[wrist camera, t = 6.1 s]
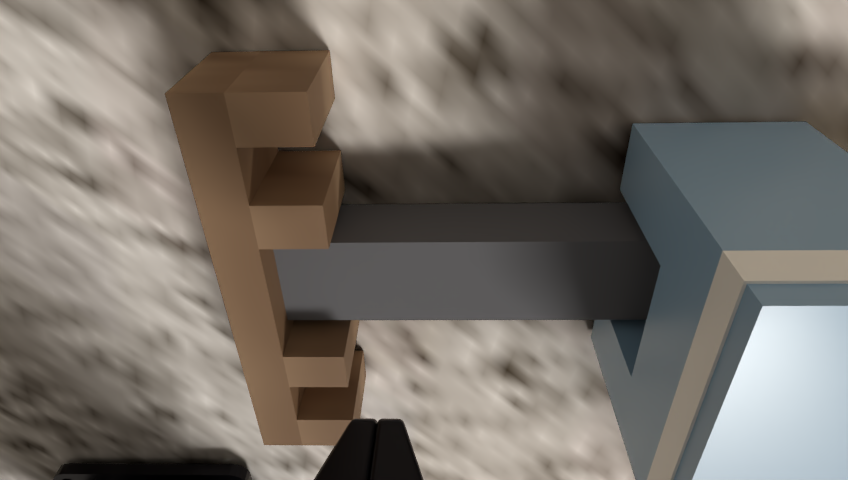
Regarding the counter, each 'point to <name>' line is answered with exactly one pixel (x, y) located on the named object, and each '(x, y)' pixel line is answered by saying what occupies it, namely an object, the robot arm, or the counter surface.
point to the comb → (271, 228)
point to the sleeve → (735, 305)
